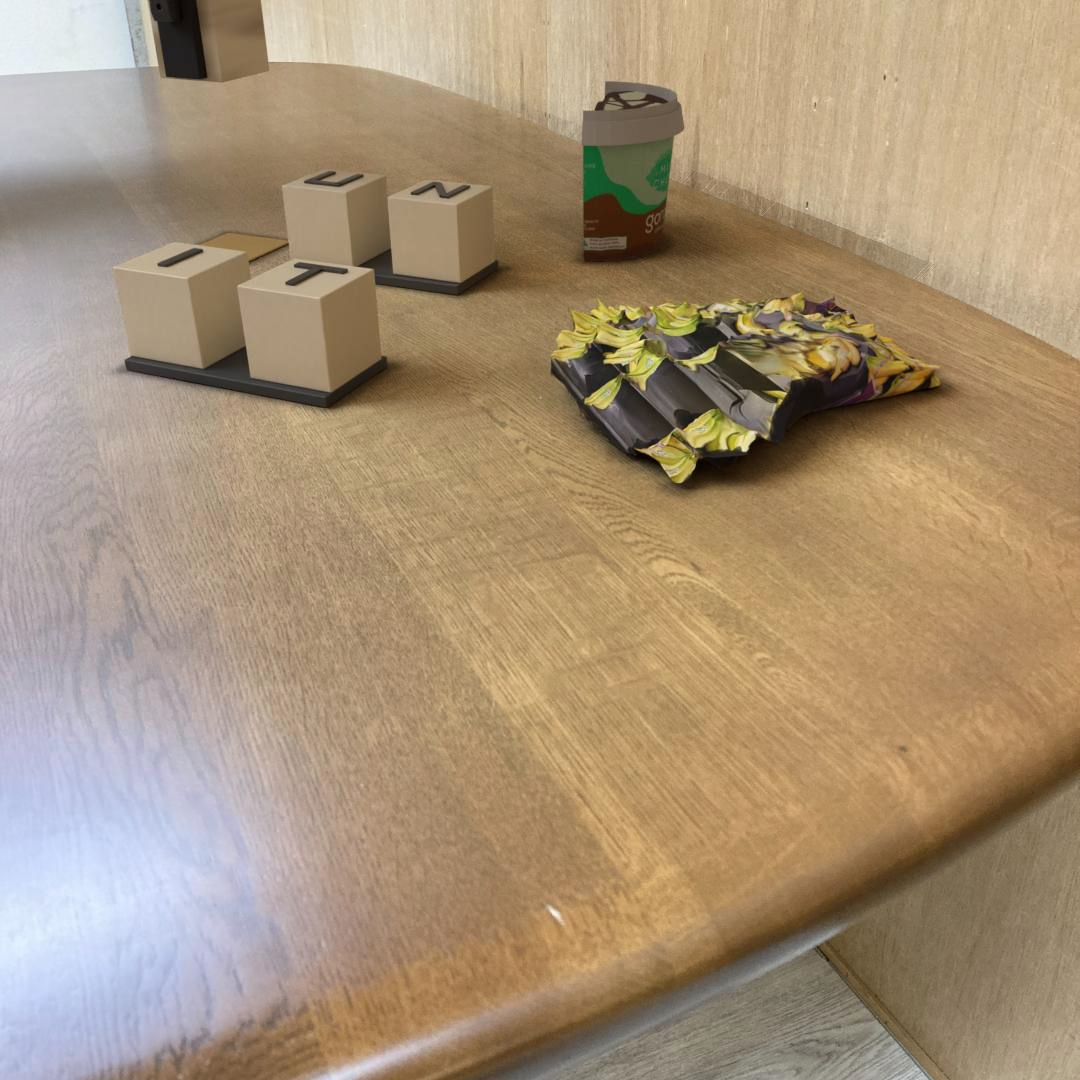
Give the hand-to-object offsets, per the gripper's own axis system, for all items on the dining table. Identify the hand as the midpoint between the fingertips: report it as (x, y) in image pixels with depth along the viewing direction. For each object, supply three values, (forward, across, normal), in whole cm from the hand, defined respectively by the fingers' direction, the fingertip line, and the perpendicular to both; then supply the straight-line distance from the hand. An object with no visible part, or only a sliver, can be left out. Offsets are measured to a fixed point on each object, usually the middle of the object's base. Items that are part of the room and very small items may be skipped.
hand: (215, 69), depth 74 cm
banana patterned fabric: (+12, -10, -40) cm, 43 cm away
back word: (+12, +1, -7) cm, 14 cm away
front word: (+12, -17, -14) cm, 25 cm away
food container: (+12, +13, -25) cm, 31 cm away
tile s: (0, 0, 0) cm, 0 cm away
